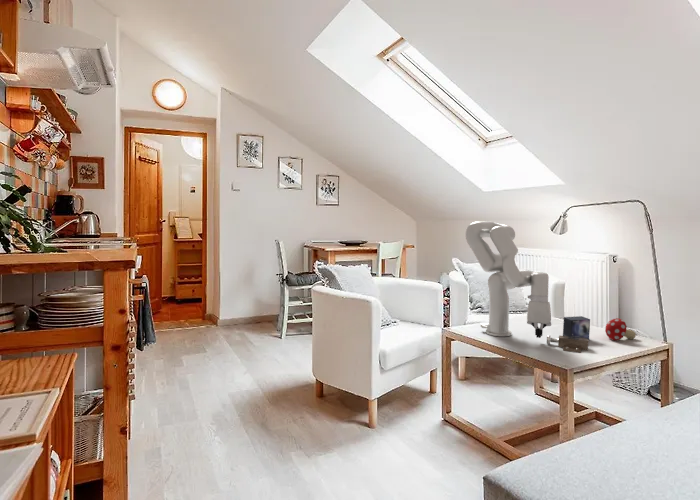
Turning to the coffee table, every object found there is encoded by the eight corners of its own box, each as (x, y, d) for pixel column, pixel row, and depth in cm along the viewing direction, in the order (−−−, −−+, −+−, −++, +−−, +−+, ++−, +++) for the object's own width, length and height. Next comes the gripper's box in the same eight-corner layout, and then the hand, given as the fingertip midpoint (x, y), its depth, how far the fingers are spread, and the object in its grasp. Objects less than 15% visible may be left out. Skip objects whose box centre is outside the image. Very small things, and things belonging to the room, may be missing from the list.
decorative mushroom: (637, 320, 223) (612, 311, 221) (647, 337, 214) (622, 327, 212) (621, 334, 230) (596, 325, 227) (630, 351, 221) (605, 342, 218)
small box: (570, 341, 218) (571, 319, 217) (562, 337, 224) (562, 316, 223) (590, 340, 220) (590, 318, 219) (580, 336, 226) (581, 315, 226)
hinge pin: (546, 344, 211) (546, 336, 211) (547, 342, 215) (547, 334, 214) (578, 348, 204) (579, 340, 204) (579, 346, 208) (579, 338, 208)
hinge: (556, 349, 204) (557, 340, 204) (560, 341, 217) (560, 332, 217) (586, 353, 198) (587, 343, 198) (588, 345, 211) (589, 336, 210)
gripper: (521, 298, 214) (520, 336, 215) (555, 301, 206) (555, 340, 208) (524, 296, 220) (523, 333, 222) (557, 298, 213) (556, 337, 214)
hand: (538, 337), depth 215 cm, fingers closed
